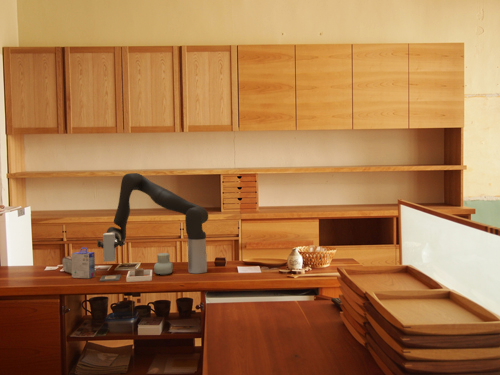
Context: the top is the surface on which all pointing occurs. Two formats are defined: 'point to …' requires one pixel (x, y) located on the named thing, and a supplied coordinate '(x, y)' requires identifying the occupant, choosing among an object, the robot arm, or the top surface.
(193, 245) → the robot arm
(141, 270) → the walnut block
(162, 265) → the air freshener
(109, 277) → the pad
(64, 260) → the tin
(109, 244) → the label box
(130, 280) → the bin rim
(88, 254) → the ink cartridge box
